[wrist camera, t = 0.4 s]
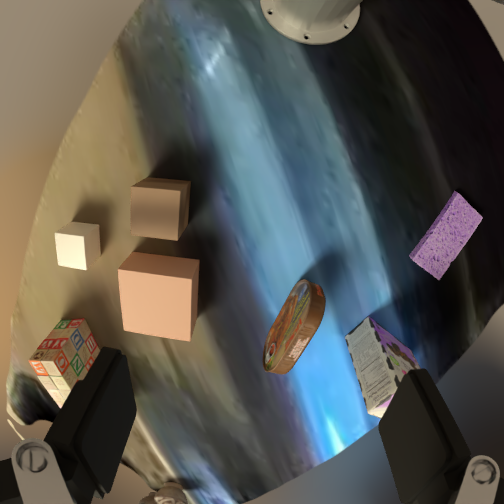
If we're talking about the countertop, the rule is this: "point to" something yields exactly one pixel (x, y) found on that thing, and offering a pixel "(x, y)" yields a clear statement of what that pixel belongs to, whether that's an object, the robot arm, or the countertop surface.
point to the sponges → (446, 236)
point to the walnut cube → (160, 208)
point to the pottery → (166, 495)
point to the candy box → (378, 363)
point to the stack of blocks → (65, 357)
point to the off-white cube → (78, 245)
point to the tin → (294, 327)
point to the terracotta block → (159, 295)
